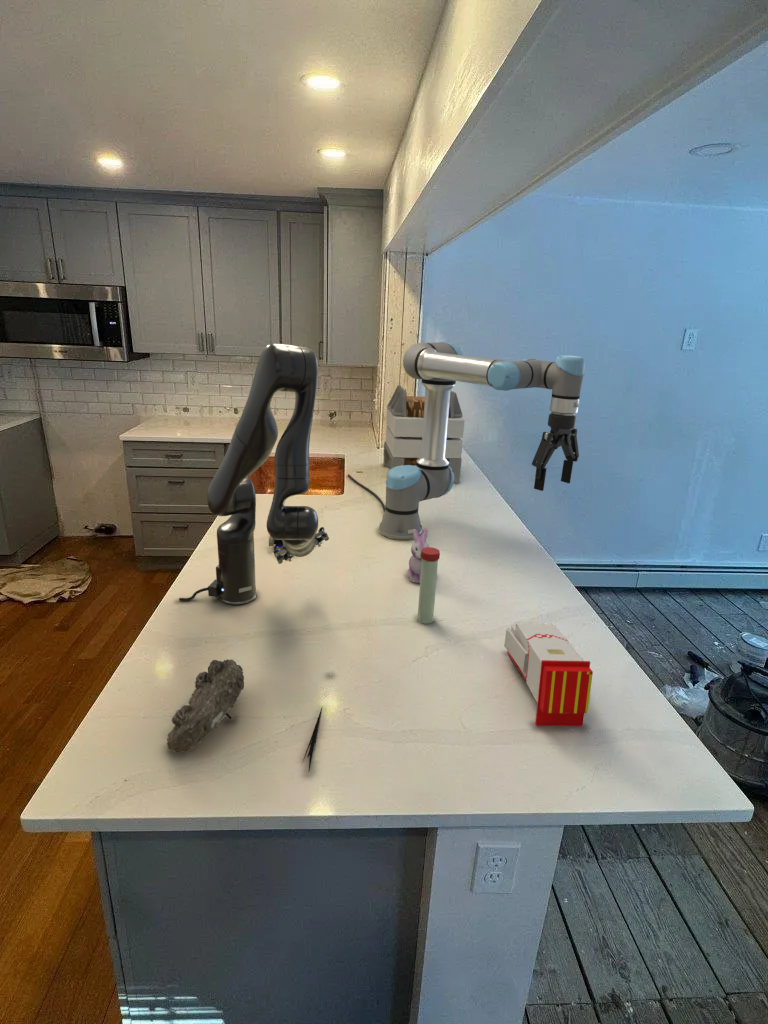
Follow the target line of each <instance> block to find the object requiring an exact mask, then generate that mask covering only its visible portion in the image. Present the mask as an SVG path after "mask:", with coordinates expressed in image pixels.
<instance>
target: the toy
mask: <svg viewBox="0 0 768 1024" xmlns="http://www.w3.org/2000/svg"><path fill="white" fill-rule="evenodd" d="M503 645H504V647H505V649H506V650H507V655H508V656H509V658H510V659H511V662H513V664H514V666H515V667H516V669H517V670H518V672H519V673H520V675H521V676H522V679H523V680H524V681H525V683H526V686H527V687H528V689H529V690H530V693H531V694H532V696H533V698H534V700H535V701H536V703H537V704H536V714H535V722H534V723H535V726H537V727H541V726H542V727H583V726H584V719H585V715H586V714H587V715H588V714H589V706H590V705H589V704H590V699H591V691H592V683H593V682H592V681H593V674H594V673H593V672H594V671H593V670H592V669H591V668H590V667H591V661H590V660H584V659H583V658H582V657H581V655H580V654H579V653H578V651H577V650H576V649H575V648H574V647H573V645H572V644H571V643H570V642H569V640H568V639H567V638H566V636H564V633H562V632H561V630H560V629H559V628H558V627H557V625H556V624H555V623H553V622H515V624H511V625H510V628H506V630H505V638H504V644H503Z"/></svg>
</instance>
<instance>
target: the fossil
mask: <svg viewBox="0 0 768 1024" xmlns="http://www.w3.org/2000/svg"><path fill="white" fill-rule="evenodd" d="M243 670H244V669H243V667H242V665H240V664H237V662H236V661H235V660H234V659H232V658H231V659H227V658H226V659H224V660H223V661H222V660H217V659H212V660H211V661H210V663H209V665H208V666H207V671H201V672H199V673H198V674H197V675H196V676H195V680H194V684H195V685H194V687H195V689H194V690H193V693H192V694H191V697H190V698H189V700H188V704H184V705H182V706H181V707H180V709H177V710H176V711H175V713H174V715H173V716H172V718H171V723H172V724H173V727H172V730H171V731H170V732H168V734H167V738H166V741H167V742H166V745H167V749H168V750H169V751H173V752H174V753H176V754H178V753H182V752H188V751H189V752H192V751H193V750H195V748H196V747H197V746H199V744H200V743H201V742H203V741H204V740H205V739H206V738H207V737H208V736H209V735H210V734H211V733H212V732H214V730H215V729H217V727H218V726H219V724H220V722H221V721H222V720H223V719H224V718H225V716H226V717H227V719H229V720H233V717H232V715H230V714H229V710H230V709H231V708H234V706H235V704H236V703H237V702H238V699H239V697H240V695H241V693H242V691H243V690H245V689H244V688H245V675H244V671H243Z"/></svg>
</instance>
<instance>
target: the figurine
mask: <svg viewBox="0 0 768 1024" xmlns="http://www.w3.org/2000/svg"><path fill="white" fill-rule="evenodd" d="M428 534H429V528H426V527H425V528H424V529H423V530H422V534H421V535H419V533H418V531H417V530H416V529H414V530H413V537H414V539H413V543H412V545H411V547H410V552H411V556H410V558H409V560H408V566H409V567H408V571H407V577H408V578H409V581H410V582H412V583H417V584H420V576H421V562H422V558H421V550H422V549H423V548H426V547H430V545H429V543H428V540H427V539H428Z"/></svg>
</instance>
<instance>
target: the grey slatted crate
mask: <svg viewBox="0 0 768 1024" xmlns="http://www.w3.org/2000/svg"><path fill="white" fill-rule="evenodd" d="M407 394H408V393H407V390H406V389H404V388H403V387H402V385H399V384H398V385H397V386H396V388H395V390H394V392H393V394H392V395H391V398H390V400H389V402H388V404H387V405H386V413H385V414H386V415H385V423H386V428H385V438H384V442H383V466H384V467H388V468H389V470H390V469H392V468H394V467H396V466H401V465H404V466H405V465H413V466H416V461H417V459H418V458H420V457H421V449H422V434H423V419H424V404H425V396H415V395H414V396H413V395H412V396H411V395H407ZM464 429H465V419H464V418H463V411H462V408H461V405H460V402H459V398H458V395H457V392H455V391H453V390H451V392H450V404H449V416H448V428H447V441H446V453H445V458H446V459H447V461H448V462H449V466H450V467H451V469H452V473H454V484H455V483H456V484H459V483H461V472H462V461H463V460H462V453H463V442H464V441H463V440H462V439H463V438H464V431H465V430H464Z"/></svg>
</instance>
